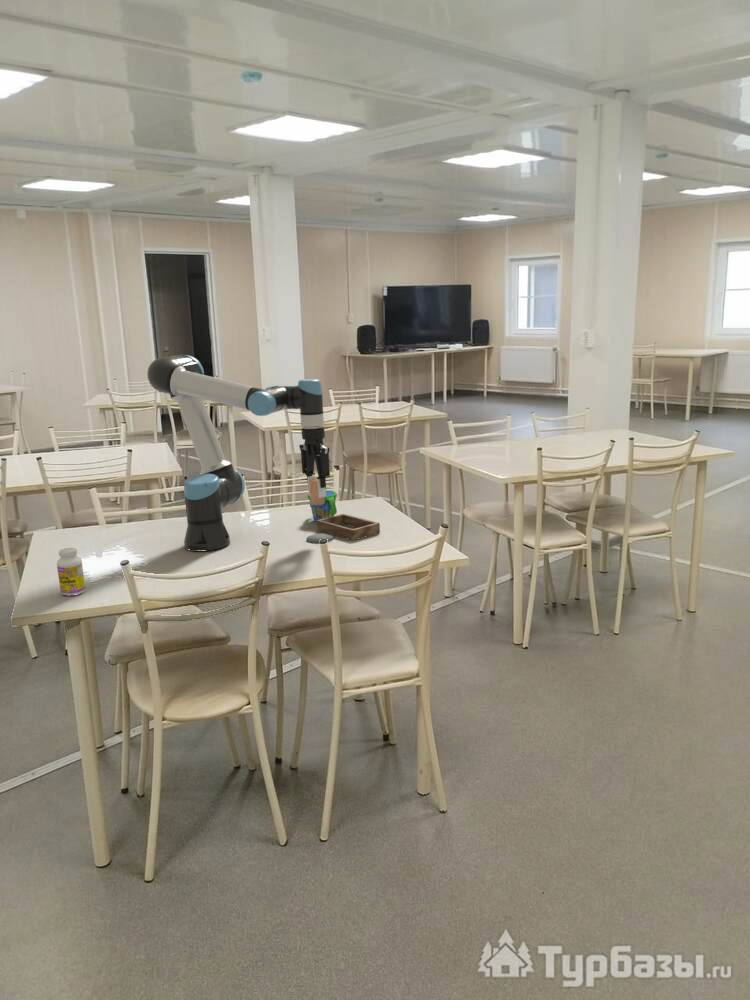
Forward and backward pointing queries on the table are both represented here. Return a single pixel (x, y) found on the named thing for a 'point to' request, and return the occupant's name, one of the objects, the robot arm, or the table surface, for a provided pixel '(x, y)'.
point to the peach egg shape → (315, 493)
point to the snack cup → (325, 506)
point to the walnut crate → (334, 528)
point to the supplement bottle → (70, 572)
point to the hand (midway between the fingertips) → (317, 495)
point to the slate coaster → (319, 537)
